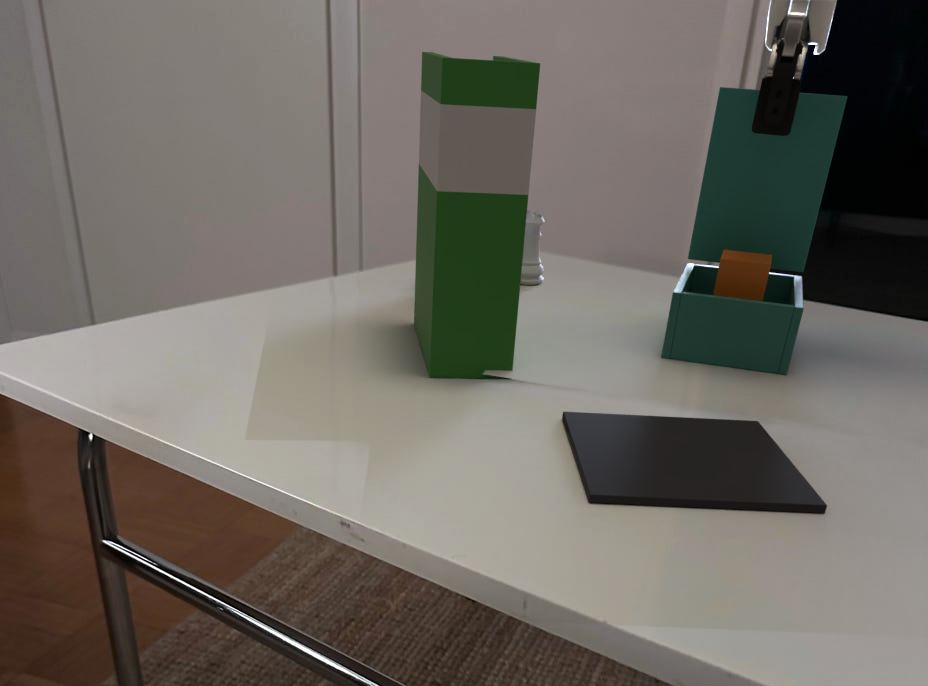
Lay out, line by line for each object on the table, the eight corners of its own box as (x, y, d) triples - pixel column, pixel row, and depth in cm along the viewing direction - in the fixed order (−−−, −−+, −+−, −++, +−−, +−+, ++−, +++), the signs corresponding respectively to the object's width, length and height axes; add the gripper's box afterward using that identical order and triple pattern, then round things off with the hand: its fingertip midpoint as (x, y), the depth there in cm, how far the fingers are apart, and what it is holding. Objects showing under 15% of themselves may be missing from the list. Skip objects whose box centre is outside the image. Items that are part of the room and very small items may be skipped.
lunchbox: (784, 383, 86) (804, 308, 82) (659, 365, 88) (672, 292, 84) (785, 343, 97) (802, 276, 94) (674, 329, 100) (687, 262, 96)
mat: (756, 427, 75) (758, 420, 75) (825, 513, 62) (827, 505, 61) (561, 418, 75) (562, 411, 74) (589, 502, 61) (590, 494, 61)
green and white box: (413, 323, 96) (422, 51, 83) (483, 325, 97) (503, 56, 84) (429, 377, 81) (442, 57, 68) (511, 378, 82) (540, 63, 69)
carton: (749, 355, 90) (771, 263, 85) (702, 348, 91) (720, 257, 86) (751, 343, 94) (772, 254, 89) (705, 337, 95) (723, 249, 90)
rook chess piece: (504, 277, 117) (510, 208, 112) (538, 277, 118) (545, 209, 113) (512, 285, 113) (518, 214, 109) (547, 285, 114) (555, 215, 110)
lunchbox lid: (847, 96, 85) (847, 96, 86) (719, 86, 88) (720, 87, 88) (803, 272, 93) (803, 271, 94) (687, 259, 96) (688, 258, 96)
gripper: (886, -133, 65) (816, 142, 74) (869, -100, 79) (812, 128, 88) (776, -137, 66) (722, 133, 76) (779, -104, 80) (732, 121, 90)
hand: (770, 130), depth 82 cm, fingers open, 9 cm apart
